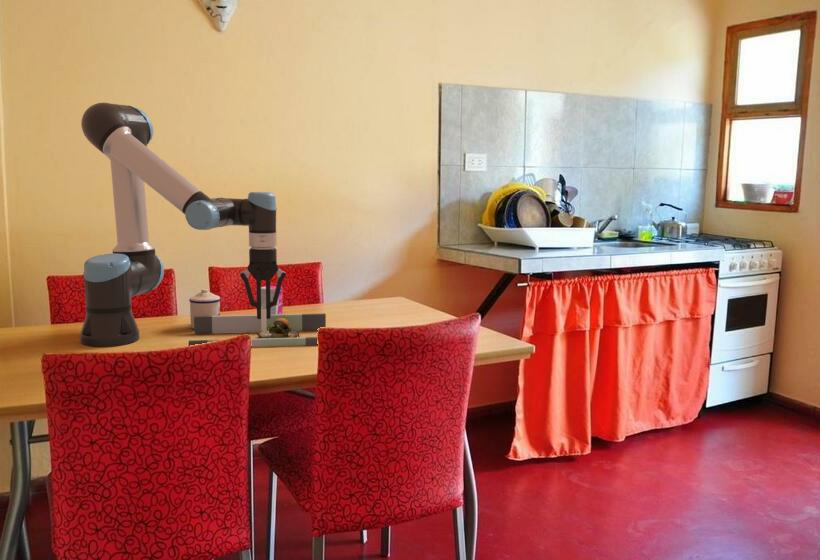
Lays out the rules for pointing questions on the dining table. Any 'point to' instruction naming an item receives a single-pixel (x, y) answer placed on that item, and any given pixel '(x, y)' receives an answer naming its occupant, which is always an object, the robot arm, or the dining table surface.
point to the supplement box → (278, 307)
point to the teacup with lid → (204, 305)
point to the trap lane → (259, 327)
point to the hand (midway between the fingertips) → (263, 329)
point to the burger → (279, 330)
